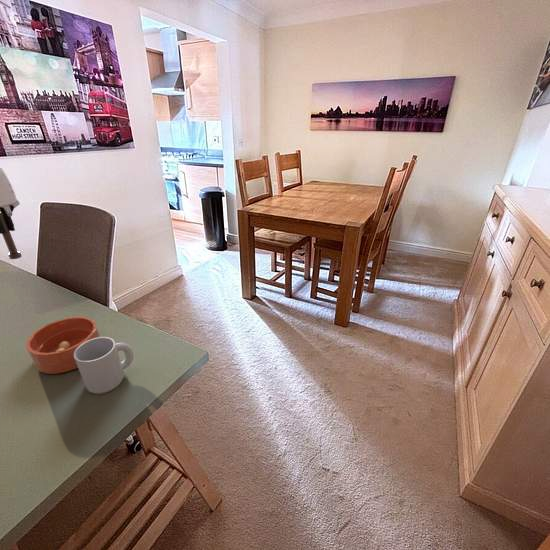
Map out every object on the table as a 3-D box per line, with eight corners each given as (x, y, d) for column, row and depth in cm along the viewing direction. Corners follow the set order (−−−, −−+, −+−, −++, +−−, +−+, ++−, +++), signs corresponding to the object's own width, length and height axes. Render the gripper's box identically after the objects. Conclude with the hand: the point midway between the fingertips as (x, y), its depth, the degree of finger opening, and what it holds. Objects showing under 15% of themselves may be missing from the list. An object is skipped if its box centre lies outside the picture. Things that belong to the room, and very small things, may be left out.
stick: (7, 259, 87) (-12, 213, 81) (12, 255, 89) (-6, 211, 83) (19, 258, 88) (1, 213, 81) (23, 255, 90) (6, 210, 84)
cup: (82, 379, 64) (70, 346, 60) (131, 358, 70) (123, 327, 66) (90, 401, 59) (77, 367, 55) (142, 376, 65) (134, 344, 61)
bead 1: (59, 353, 70) (55, 346, 69) (62, 347, 72) (59, 340, 71) (69, 352, 70) (66, 344, 69) (72, 345, 72) (69, 338, 71)
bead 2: (55, 360, 68) (51, 353, 67) (58, 354, 70) (55, 346, 69) (66, 359, 68) (63, 351, 67) (69, 352, 70) (66, 345, 69)
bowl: (25, 380, 63) (14, 359, 61) (49, 340, 75) (41, 320, 72) (94, 369, 66) (87, 349, 64) (107, 332, 78) (102, 313, 75)
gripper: (-1, 158, 84) (22, 222, 92) (-72, 165, 70) (-37, 239, 79) (19, 160, 82) (42, 224, 91) (-49, 167, 69) (-16, 243, 77)
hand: (5, 231), depth 85 cm, fingers closed on stick
